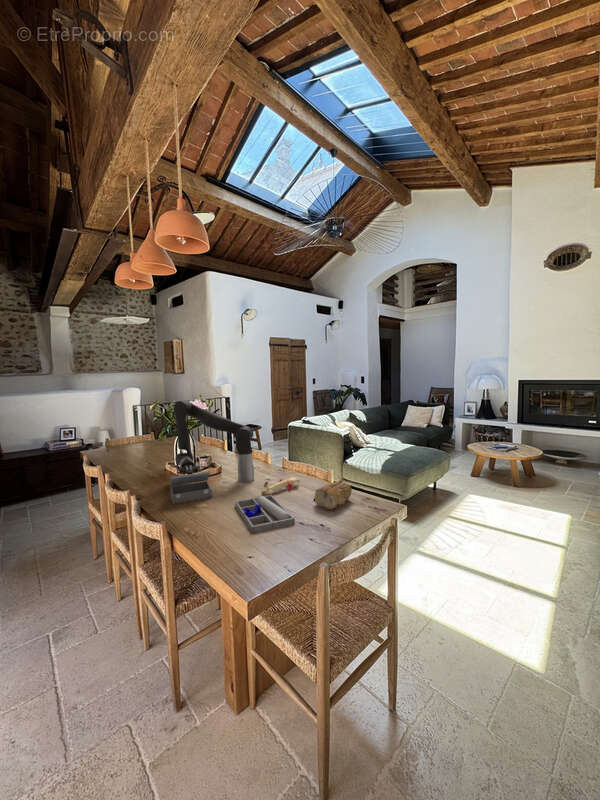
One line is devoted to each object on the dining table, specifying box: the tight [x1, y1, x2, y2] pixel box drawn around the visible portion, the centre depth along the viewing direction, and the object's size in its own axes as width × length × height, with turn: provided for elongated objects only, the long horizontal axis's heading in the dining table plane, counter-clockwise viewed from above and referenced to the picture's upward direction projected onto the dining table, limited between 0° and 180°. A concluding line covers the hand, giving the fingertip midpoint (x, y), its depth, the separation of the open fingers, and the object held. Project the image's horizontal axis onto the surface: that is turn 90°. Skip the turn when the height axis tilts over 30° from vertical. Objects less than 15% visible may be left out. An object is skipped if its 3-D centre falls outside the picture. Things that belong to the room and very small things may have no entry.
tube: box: [256, 495, 290, 521], centre depth 164 cm, size 5×5×25 cm
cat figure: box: [261, 476, 300, 496], centre depth 195 cm, size 10×9×25 cm
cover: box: [169, 471, 211, 487], centre depth 187 cm, size 20×15×1 cm
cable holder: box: [244, 504, 262, 518], centre depth 161 cm, size 8×4×4 cm, turn 134°
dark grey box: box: [169, 480, 213, 505], centre depth 187 cm, size 20×15×5 cm
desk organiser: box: [234, 494, 296, 533], centre depth 163 cm, size 19×31×2 cm, turn 24°
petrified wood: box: [312, 479, 352, 511], centre depth 175 cm, size 19×13×10 cm
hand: (190, 473), depth 183 cm, fingers closed
